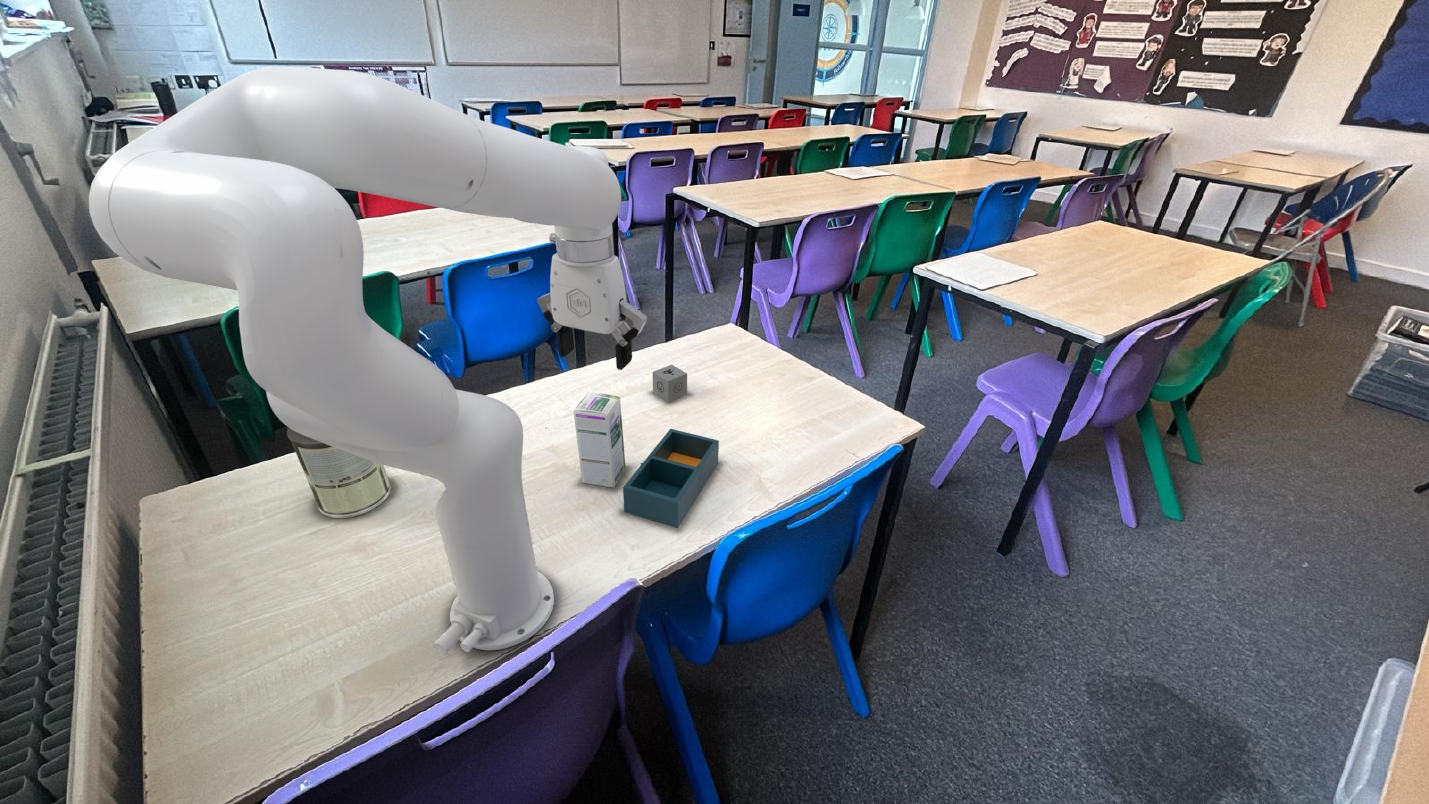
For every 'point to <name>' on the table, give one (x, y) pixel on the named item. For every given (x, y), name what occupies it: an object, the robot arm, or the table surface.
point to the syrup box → (600, 439)
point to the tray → (671, 477)
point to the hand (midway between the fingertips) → (595, 359)
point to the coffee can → (340, 478)
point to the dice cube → (669, 383)
